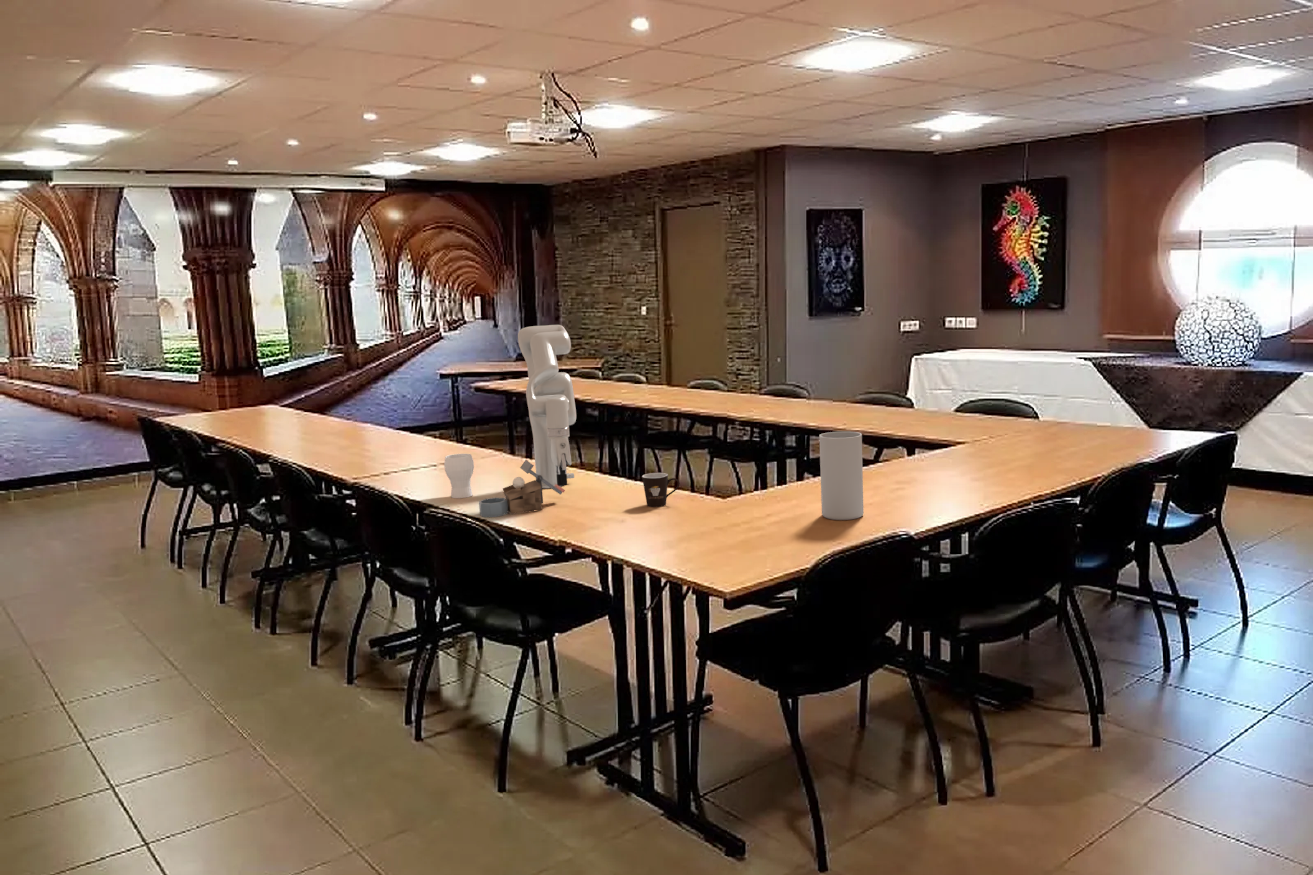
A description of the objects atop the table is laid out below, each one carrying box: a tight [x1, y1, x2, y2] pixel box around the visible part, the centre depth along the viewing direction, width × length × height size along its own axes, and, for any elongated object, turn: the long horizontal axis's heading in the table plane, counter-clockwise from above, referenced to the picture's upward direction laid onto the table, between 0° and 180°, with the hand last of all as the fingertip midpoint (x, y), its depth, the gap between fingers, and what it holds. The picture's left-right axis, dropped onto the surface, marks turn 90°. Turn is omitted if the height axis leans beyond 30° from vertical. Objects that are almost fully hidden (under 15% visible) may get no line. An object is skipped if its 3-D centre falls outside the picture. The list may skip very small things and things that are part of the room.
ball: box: [512, 476, 526, 489], centre depth 331 cm, size 4×4×4 cm
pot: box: [478, 497, 509, 518], centre depth 329 cm, size 9×9×4 cm
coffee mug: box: [641, 472, 681, 508], centre depth 328 cm, size 12×9×10 cm
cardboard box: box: [502, 478, 544, 515], centre depth 334 cm, size 14×12×10 cm
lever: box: [519, 459, 566, 496], centre depth 336 cm, size 17×11×3 cm
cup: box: [443, 453, 475, 499], centre depth 360 cm, size 11×11×15 cm
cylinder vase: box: [818, 431, 864, 521], centre depth 298 cm, size 12×12×25 cm
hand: (562, 485), depth 341 cm, fingers closed
